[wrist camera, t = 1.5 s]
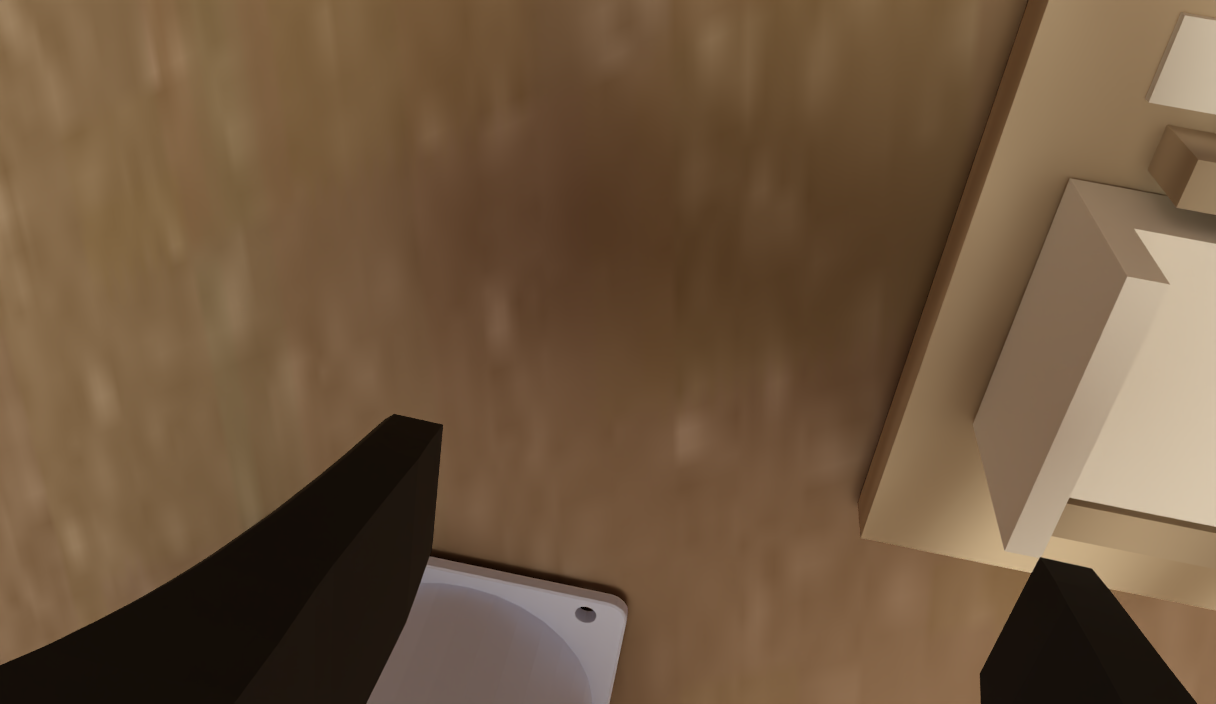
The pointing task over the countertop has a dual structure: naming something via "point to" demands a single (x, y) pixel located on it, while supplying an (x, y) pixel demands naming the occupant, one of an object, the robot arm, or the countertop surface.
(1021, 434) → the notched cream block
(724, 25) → the countertop surface
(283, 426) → the countertop surface
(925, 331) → the linear slide rail
